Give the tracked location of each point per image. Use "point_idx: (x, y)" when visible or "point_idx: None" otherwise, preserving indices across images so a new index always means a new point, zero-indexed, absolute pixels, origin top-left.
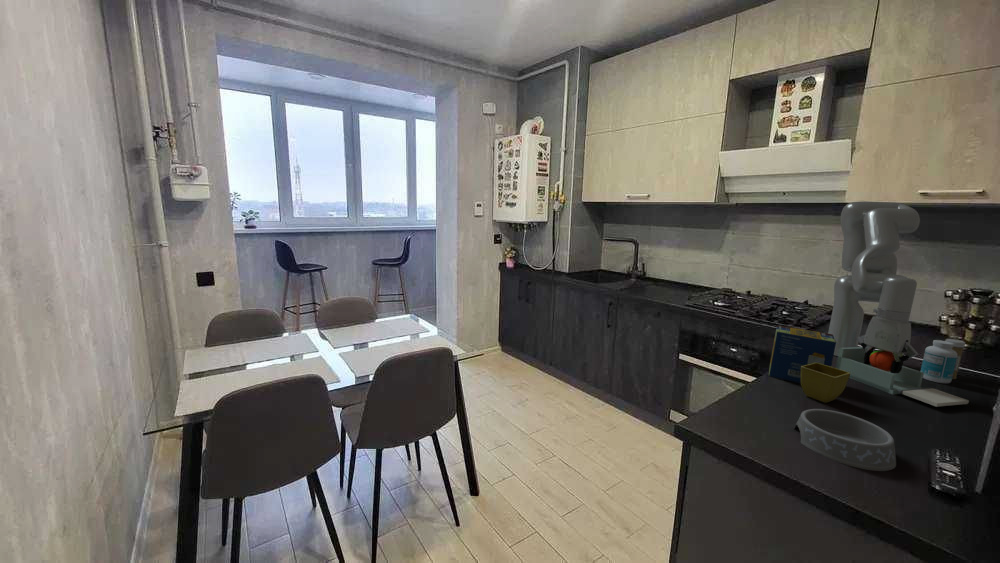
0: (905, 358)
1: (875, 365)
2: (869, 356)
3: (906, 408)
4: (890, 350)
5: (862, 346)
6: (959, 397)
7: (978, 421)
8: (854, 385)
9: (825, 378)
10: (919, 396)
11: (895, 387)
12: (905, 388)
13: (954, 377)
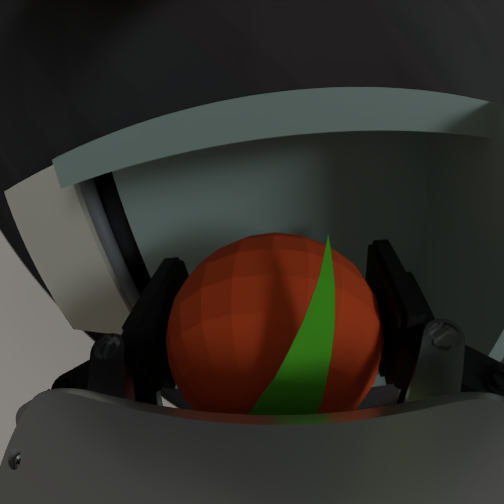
0: (66, 375)
1: (270, 233)
2: (327, 237)
3: (19, 83)
4: (71, 405)
5: (490, 361)
6: (86, 329)
7: (9, 239)
8: (224, 11)
9: None
10: (31, 181)
11: (151, 201)
12: (149, 245)
13: None
